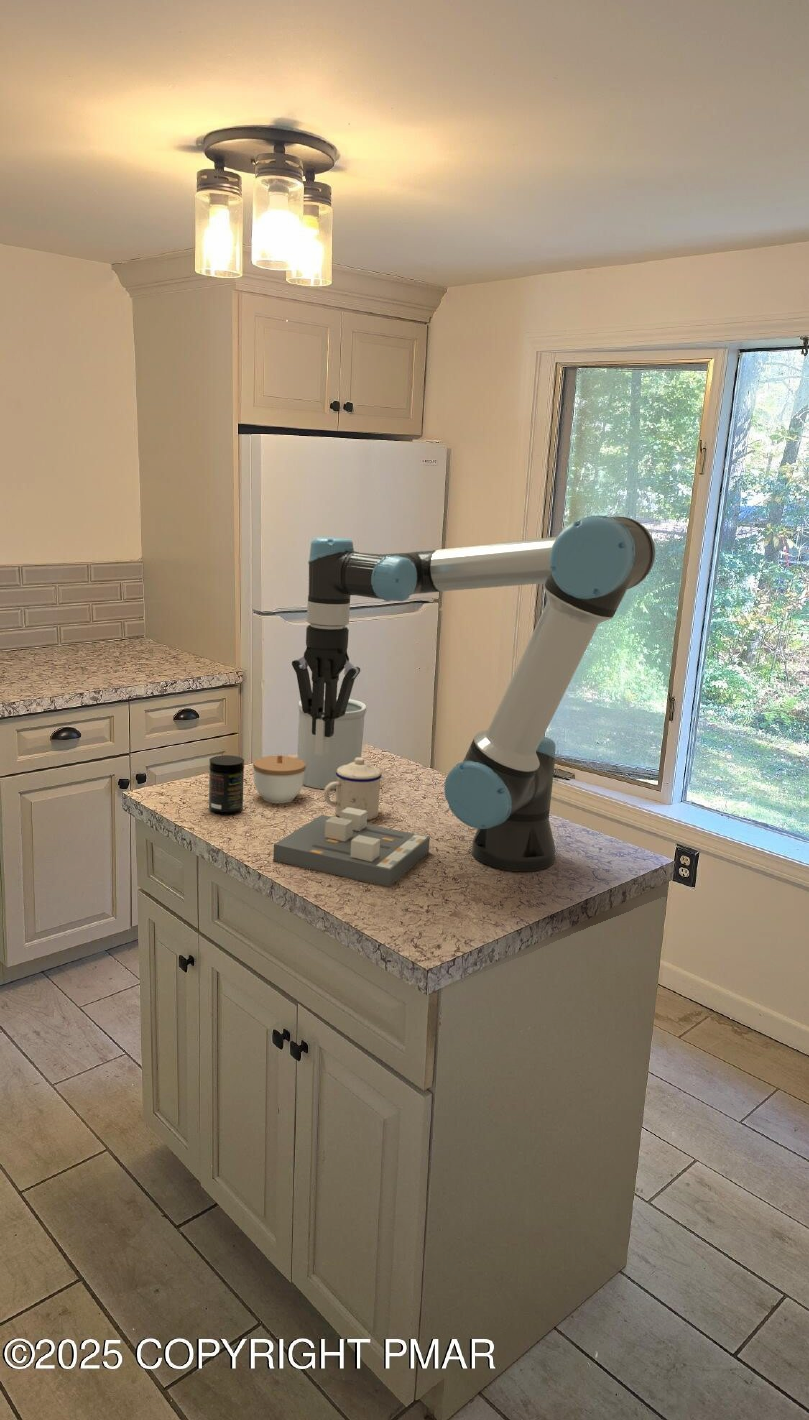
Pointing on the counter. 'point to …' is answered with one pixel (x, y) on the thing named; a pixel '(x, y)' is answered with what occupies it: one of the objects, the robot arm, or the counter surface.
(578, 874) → the counter surface
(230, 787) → the supplement container
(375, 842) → the front switch
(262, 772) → the lidded jar
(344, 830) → the middle switch
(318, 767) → the utensil holder
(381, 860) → the switch panel
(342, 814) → the back switch
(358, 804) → the teacup with lid
